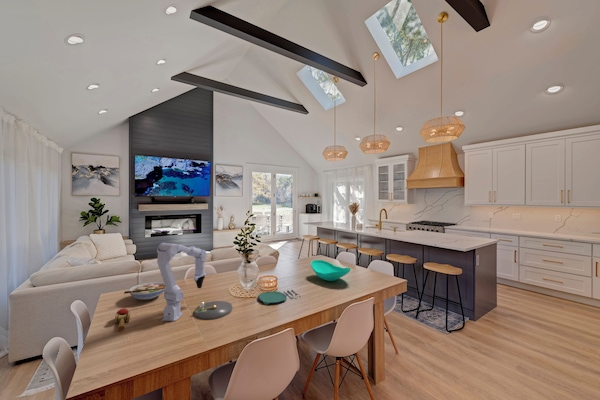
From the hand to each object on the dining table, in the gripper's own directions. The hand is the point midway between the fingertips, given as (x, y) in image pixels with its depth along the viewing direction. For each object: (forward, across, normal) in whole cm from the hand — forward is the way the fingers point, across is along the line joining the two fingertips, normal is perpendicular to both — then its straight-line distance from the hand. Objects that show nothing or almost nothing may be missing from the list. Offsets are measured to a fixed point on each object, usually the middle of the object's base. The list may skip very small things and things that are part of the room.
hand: (199, 287), depth 162 cm
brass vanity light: (+9, -12, -10) cm, 17 cm away
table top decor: (+11, +52, -94) cm, 108 cm away
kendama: (+11, -27, +32) cm, 43 cm away
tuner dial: (+10, -10, -13) cm, 19 cm away
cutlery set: (+11, +12, -52) cm, 54 cm away
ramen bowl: (+11, +8, +38) cm, 40 cm away
